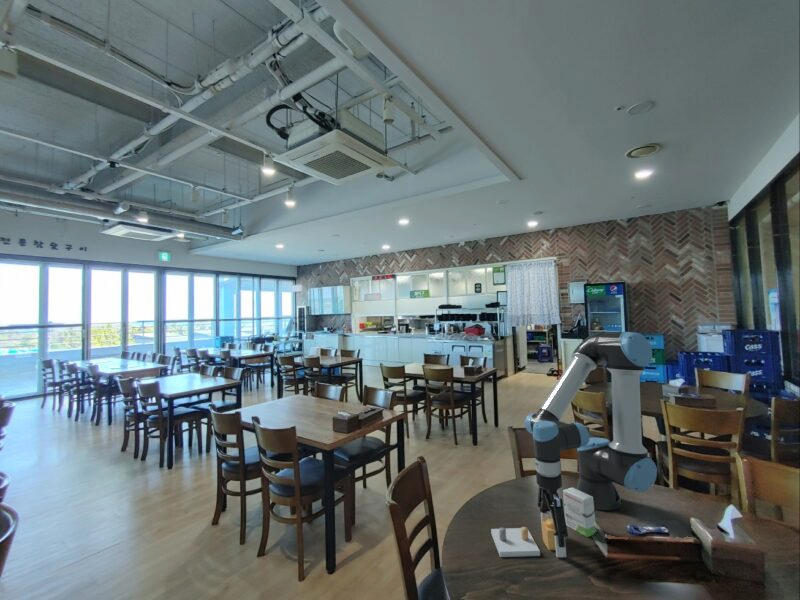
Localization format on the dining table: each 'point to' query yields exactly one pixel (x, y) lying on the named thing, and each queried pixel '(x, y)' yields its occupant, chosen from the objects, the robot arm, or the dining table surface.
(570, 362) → the robot arm
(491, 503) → the dining table surface
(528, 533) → the plate
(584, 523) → the ink box
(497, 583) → the dining table surface
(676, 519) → the dining table surface
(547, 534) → the tan stud block
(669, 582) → the dining table surface
